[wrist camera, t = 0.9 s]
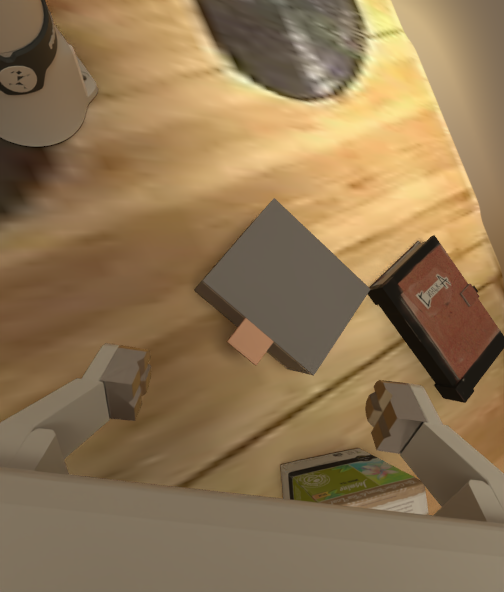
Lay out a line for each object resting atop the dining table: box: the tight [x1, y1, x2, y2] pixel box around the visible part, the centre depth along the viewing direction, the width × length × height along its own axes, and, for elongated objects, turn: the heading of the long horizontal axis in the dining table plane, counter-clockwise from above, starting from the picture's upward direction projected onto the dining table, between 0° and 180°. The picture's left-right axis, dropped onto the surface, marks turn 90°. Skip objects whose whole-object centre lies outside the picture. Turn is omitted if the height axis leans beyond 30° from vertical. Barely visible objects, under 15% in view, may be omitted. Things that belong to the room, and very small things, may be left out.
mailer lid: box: [202, 198, 370, 375], centre depth 45 cm, size 20×20×1 cm
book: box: [368, 235, 504, 403], centre depth 61 cm, size 26×18×5 cm
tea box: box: [281, 449, 429, 515], centre depth 45 cm, size 15×10×15 cm
